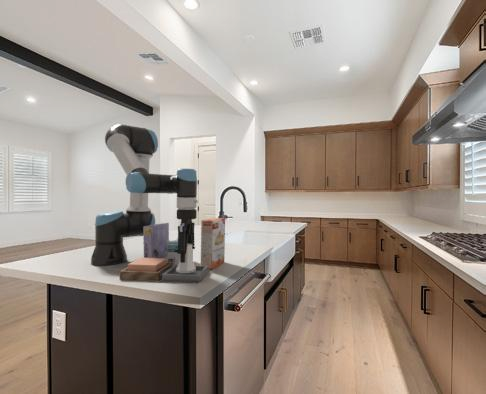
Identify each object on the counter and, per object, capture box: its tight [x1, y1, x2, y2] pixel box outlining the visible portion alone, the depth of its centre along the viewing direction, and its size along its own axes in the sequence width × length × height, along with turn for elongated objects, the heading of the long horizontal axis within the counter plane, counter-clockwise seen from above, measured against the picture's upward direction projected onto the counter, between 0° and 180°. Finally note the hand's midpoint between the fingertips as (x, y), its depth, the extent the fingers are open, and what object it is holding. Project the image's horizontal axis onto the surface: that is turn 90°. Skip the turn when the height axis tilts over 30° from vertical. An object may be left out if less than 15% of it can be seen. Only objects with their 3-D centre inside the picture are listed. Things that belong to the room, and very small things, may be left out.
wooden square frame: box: [119, 262, 174, 282], centre depth 106 cm, size 15×15×3 cm
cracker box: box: [200, 217, 226, 270], centre depth 120 cm, size 14×6×21 cm, turn 162°
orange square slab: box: [127, 257, 167, 272], centre depth 106 cm, size 11×11×2 cm
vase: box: [176, 244, 196, 273], centre depth 104 cm, size 8×8×10 cm
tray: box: [161, 264, 209, 284], centre depth 104 cm, size 14×14×2 cm
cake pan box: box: [142, 222, 170, 258], centre depth 128 cm, size 19×5×18 cm, turn 172°
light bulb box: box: [167, 237, 180, 266], centre depth 125 cm, size 11×7×11 cm, turn 168°
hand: (186, 268), depth 104 cm, fingers closed on vase, 6 cm apart
